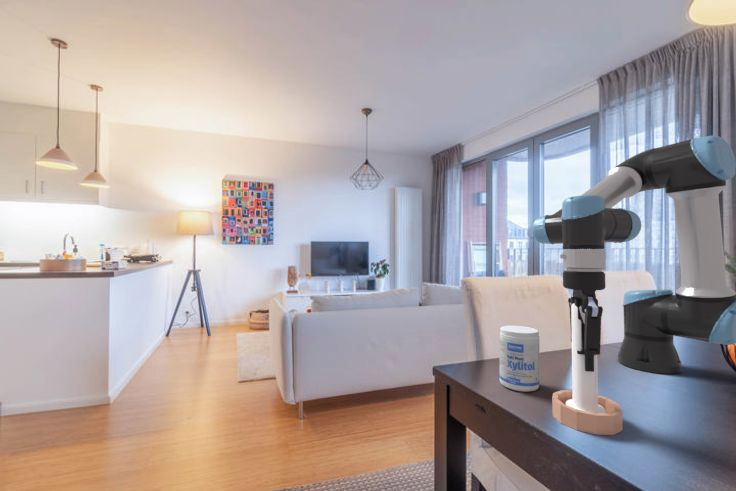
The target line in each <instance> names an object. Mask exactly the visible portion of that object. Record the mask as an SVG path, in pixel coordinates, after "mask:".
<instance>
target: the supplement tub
mask: <svg viewBox="0 0 736 491" xmlns="http://www.w3.org/2000/svg"><path fill="white" fill-rule="evenodd" d="M499 329H500V330H499V367H498V368H499V373H498V375H499V377H498V378H499V379H498V380H499V382H500V384H501V385H502V386H503V387H505V388H507V389H510V390H513V391H517V392H528V393H529V392H534V391H537V390H538V389H539V387H540V332H539V330H538V329H537V328H532V327H530V326H529V327H528V326H523V325H503V326H501V327H500V328H499Z"/></svg>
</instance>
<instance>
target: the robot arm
mask: <svg viewBox="0 0 736 491" xmlns="http://www.w3.org/2000/svg"><path fill="white" fill-rule="evenodd" d="M735 175H736V157H735V154H734V151H733V149H732V148H731V145H730V144H729V143H728V141H727V140H725V139H724V138H723V137H721V136H719V135H708V136H707V135H706V136H702V137H695V138H692V139H688V140H684V141H679V142H675V143H671V144H668V145H664V146H659V147H655V148H650V149H649V148H648V149H647V150H644V151H641V152H640V153H637V154H635V155H633V156H631V157H630V158H628V159H626V160H624V161H623V162H621V163H619V164H617V165H616V166H615V167H613V168H612V169H610V170H609V171H608V172H607V173H606V174H605V176H604V178H603V179H602V180H601V181H599V182H598V183H596V184H595V185H593V186H592V187H591V188H589V189H588V190H586V191H585V192H584V193H582V194H581V195H575V196H574V195H573V196H570V197H567V198H564V200H563V201H562V204H561V205H562V206H561V209H560V210H558V211H556V212H555V213H553V214H545V215H541V216H539V217H537V218H536V219H535V220H534V222H533V223H532V229H531V230H532V234H533V237H534V239H535V241H537V242H538V243H540V244H544V245H545V244H547V245H548V244H549V245H555V244H556V245H558V244H559V245H561V244H562V253H561V254H559V258H560V259H562V268H564V269H565V270H563V272H562V285H563V286H562V287H563V288H564V289H567V290H572V296H570V297H568V299H567V302H568V307H569V319H570V321H569V323H570V324H569V325H570V342H571V343H572V325H571V305H572V304H573V303H575V306H577V308H578V319H579V320H581V351H577V354H583V355H585V371H590V372H594V355H597V356H599V355H601V334H602V318H603V317H602V316H603V311H604V309H603V306H602V305H600V306H599V301H598V298H597V295H596V291H603V290H605V289H606V273H605V272H604V271H603V270H604V269H606V249H605V243H614V244H617V243H619V244H621V243H625V242H630V241H632V240H634V239H635V238H636V237H638V235H639V234H640V232H641V230H642V221H641V218H640V217H639V215H638V214H637V213H636V212H634V211H632V210H629V209H625V208H621V207H619V208H616V207H615V206H616V205H617V204H619V203H620V202H622V201H623V200H624V199H625V198H626V199H627V198H631V197H633V196H635V195H637V194H639V193H640V192H641V193H643V192H646V191H654V190H659V189H664V190H665V195H666V196H668V197H669V198H671V199H672V200H673V205H674V216H675V226H676V228H675V229H676V236H677V245H678V256H679V257H678V258H679V267H680V268H679V269H680V277H681V279H680V280H681V285H680V286H679V288H677V289H676V290H675V294H674V292H673V290H672V289H666V288H665V289H664V288H663V289H639V290H629V291H626V292H625V293H624V295H623V304H622V307H623V332H624V333H623V336H624V337H623V339H622V342H621V345H620V348H619V351H618V352H617V362H618V363H619V364H621V365H623V366H626V367H628V368H631V369H635V370H638V371H643V372H647V373H655V374H666V375H667V374H669V375H670V374H673V375H674V374H680V373H682V372H683V364H682V361H681V359H680V356H679V354H678V351H677V349H676V346H675V344H674V337H680V338H685V339H691V340H697V341H701V342H706V343H710V344H721V345H728V346H732V345H736V291H735V290H733V289H732V288H730V287H729V286H728V285H727V274H726V265H725V264H726V262H725V253H724V252H725V251H724V243H723V241H724V240H723V233H722V220H721V211H720V201H719V197H720V196H719V194H720V193H721V192H722V191H724V189H725V188H727V181H728V180H730V179H732V178H734V177H735ZM614 207H615V208H614ZM580 306H581V307H582V312H583V313H584V314H585V324H584V322H583V320H582V317H581V314H580V310H579V307H580ZM595 387H596V361H595Z"/></svg>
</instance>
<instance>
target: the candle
mask: <svg viewBox="0 0 736 491" xmlns="http://www.w3.org/2000/svg"><path fill="white" fill-rule="evenodd" d="M579 310H580V314H581V317H582V320H583V322H584V324H585V314H584V313H583V312H582V307H581V306H580V307H579ZM571 325H572V342H571V375H572V376H571V385H572V386H571V388H572V389H571V390H572V399H570V400H567V401H566V405H567V406H570V407H572V408H575V409H577V410H582V411H587V412H592V413H606V410H605V409H604V408H603V407H602V406H601V405H599V404H598V395H599V387H598V386H599V380H598V379H599V372H598V371H599V368H598V366H599V365H598V364H599V363H598V359H599V358H598V355H594V372H590V371H585V355H583V354H577V351H581V320H579V319H578V308H577V306H575V303H573V304H572V305H571ZM595 361H596V387H595Z"/></svg>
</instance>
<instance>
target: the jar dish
mask: <svg viewBox="0 0 736 491" xmlns="http://www.w3.org/2000/svg"><path fill="white" fill-rule="evenodd" d="M551 398H552V399H551V400H552V401H551V402H552V403H551V407H552V408H551V409H552V410H551V412H552V414H551V415H552V416H553V417H554V419H556V421H558V422H559V423H560V424H561V425H564V426H567V427H568V428H571V429H574V430H575V431H579V432H582V433H588V434H592V435H593V434H594V435H597V436H598V435H599V436H601V435H603V436H604V435H606V436H615V435H616V434H619V433H620V432H623V431H624V430H623V429H624V428H623V424H624V422H623V410H622V406H621V405H620V404H618V402H615V401H613V400H612V399H611V398H609V397H605V396H603V395H599V394H598V404H599V405H601V406H602V407H603V408H604V409H605V410H606V413H592V412H587V411H582V410H577V409H575V408H572V407H570V406H567V405H566V401H567V400H570V399H572V389H566V390H565V389H561V390H558V391H555V392H553V393H552V396H551Z"/></svg>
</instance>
